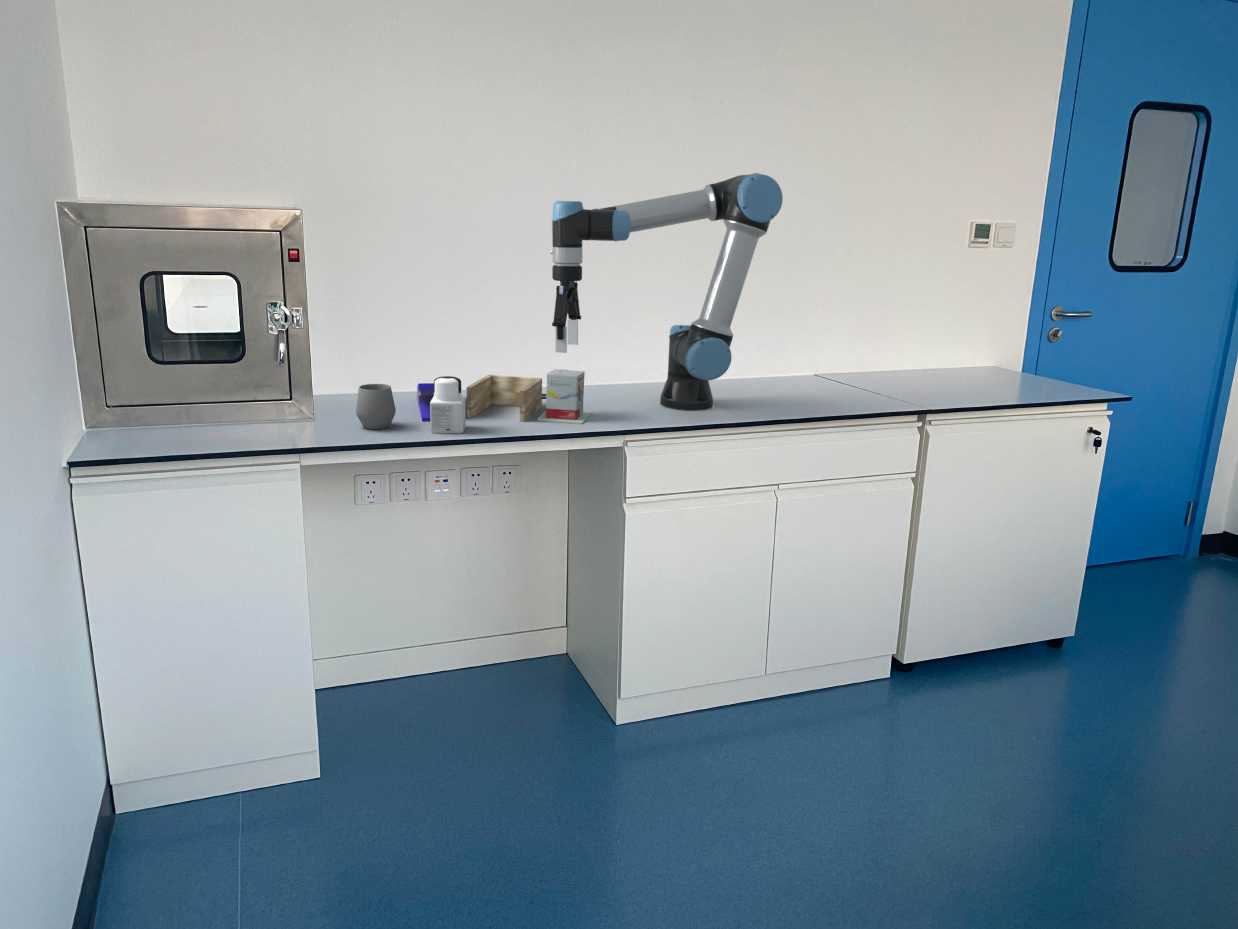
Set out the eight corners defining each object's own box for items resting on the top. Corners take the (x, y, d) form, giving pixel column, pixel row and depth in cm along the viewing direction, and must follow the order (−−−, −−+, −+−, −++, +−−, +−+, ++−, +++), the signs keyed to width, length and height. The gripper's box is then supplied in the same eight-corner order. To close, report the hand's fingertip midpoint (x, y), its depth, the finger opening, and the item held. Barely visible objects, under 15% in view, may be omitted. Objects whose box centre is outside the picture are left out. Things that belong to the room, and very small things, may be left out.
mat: (591, 414, 237) (591, 412, 237) (581, 424, 226) (582, 422, 226) (547, 410, 239) (547, 409, 239) (536, 420, 228) (536, 419, 228)
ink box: (576, 420, 228) (577, 375, 224) (545, 418, 229) (545, 373, 226) (584, 413, 236) (585, 369, 233) (553, 411, 237) (553, 367, 234)
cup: (359, 432, 210) (357, 391, 207) (354, 423, 218) (352, 383, 215) (399, 429, 213) (398, 389, 211) (392, 421, 222) (391, 382, 219)
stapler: (419, 422, 222) (418, 384, 220) (414, 399, 248) (413, 365, 245) (465, 421, 225) (465, 384, 223) (455, 398, 251) (455, 364, 248)
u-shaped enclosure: (541, 406, 243) (542, 378, 241) (524, 421, 226) (524, 391, 224) (488, 403, 246) (488, 374, 243) (466, 417, 228) (466, 387, 226)
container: (434, 425, 219) (433, 374, 215) (465, 426, 219) (464, 374, 216) (430, 433, 211) (429, 380, 208) (462, 433, 212) (462, 380, 208)
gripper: (563, 261, 234) (563, 340, 240) (540, 267, 210) (541, 355, 216) (591, 262, 233) (590, 341, 239) (571, 268, 209) (570, 356, 215)
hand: (567, 348), depth 227 cm, fingers open, 13 cm apart
